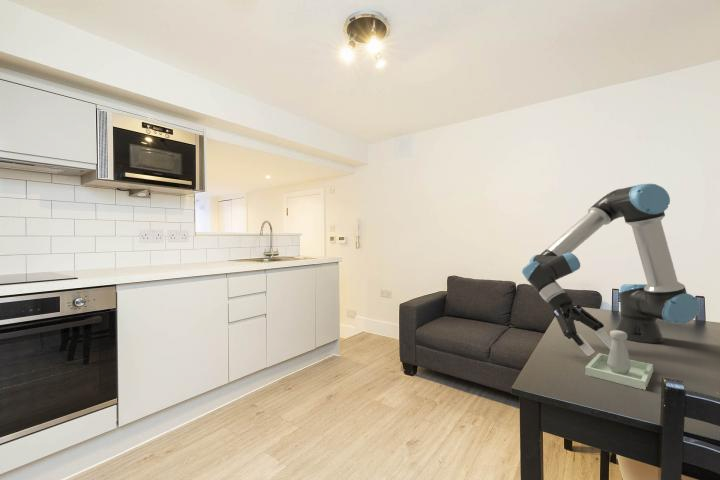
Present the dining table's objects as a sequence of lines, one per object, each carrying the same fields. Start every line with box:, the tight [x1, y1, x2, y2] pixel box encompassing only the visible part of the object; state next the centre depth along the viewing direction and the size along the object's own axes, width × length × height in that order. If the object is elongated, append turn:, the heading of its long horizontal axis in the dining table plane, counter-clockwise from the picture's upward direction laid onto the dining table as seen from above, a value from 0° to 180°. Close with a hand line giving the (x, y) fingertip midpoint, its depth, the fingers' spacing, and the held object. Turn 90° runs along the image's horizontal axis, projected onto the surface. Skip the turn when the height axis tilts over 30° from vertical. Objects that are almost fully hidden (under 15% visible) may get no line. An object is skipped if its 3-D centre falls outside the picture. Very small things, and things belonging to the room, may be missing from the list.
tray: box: [584, 352, 654, 391], centre depth 99 cm, size 18×14×2 cm
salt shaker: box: [607, 329, 631, 375], centre depth 99 cm, size 6×6×13 cm
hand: (602, 350), depth 102 cm, fingers open, 13 cm apart
